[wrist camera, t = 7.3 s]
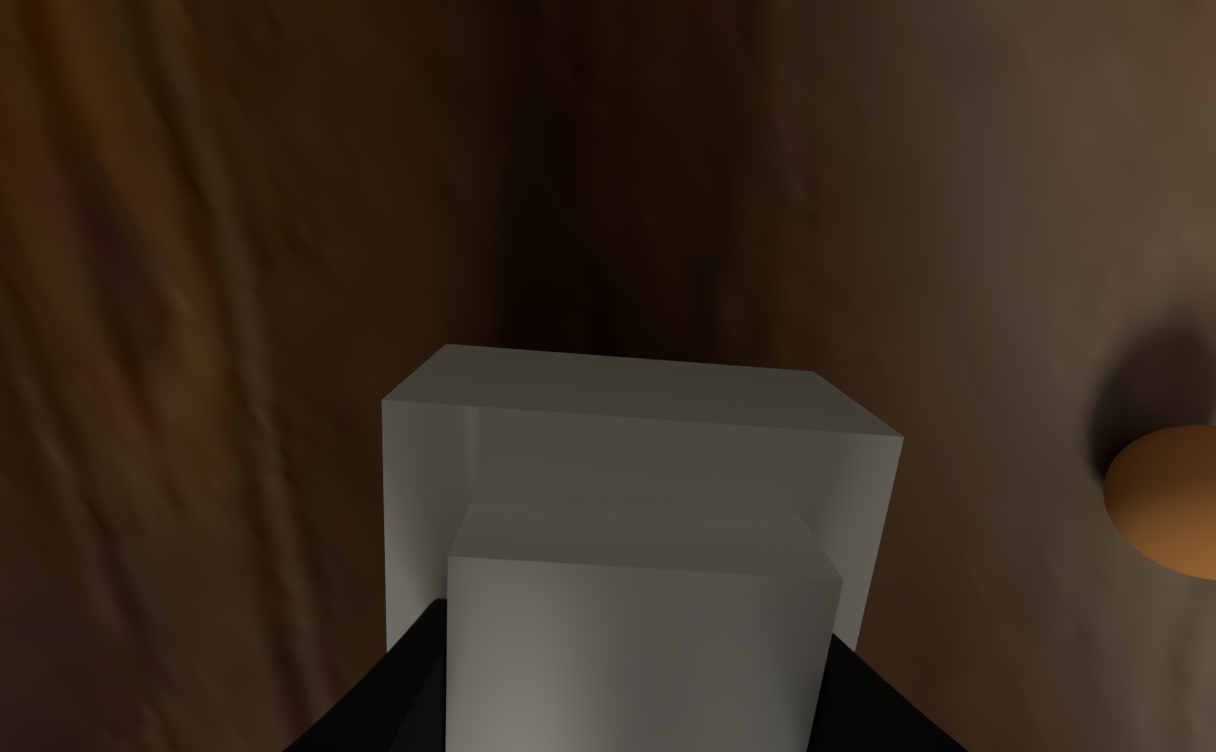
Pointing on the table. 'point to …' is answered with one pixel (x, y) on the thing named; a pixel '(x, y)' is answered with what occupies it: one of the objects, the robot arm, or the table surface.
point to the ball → (1168, 497)
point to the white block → (630, 545)
